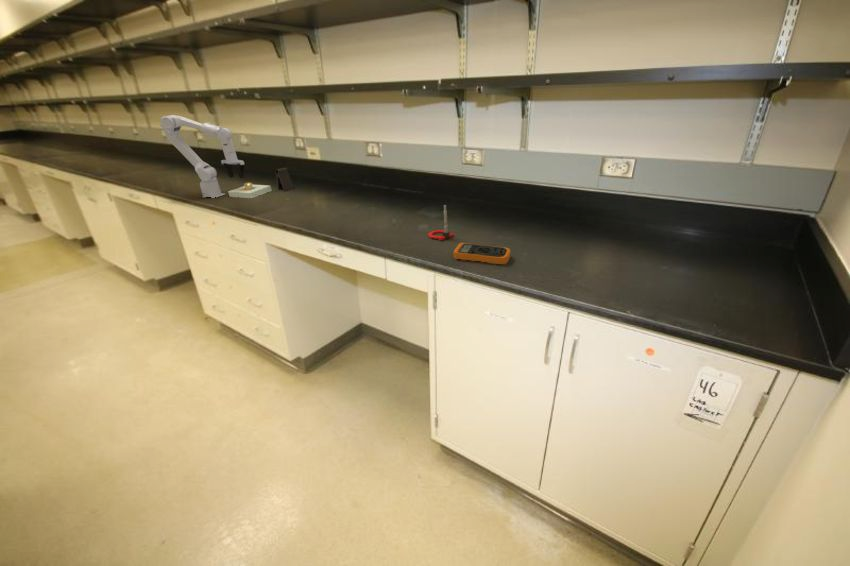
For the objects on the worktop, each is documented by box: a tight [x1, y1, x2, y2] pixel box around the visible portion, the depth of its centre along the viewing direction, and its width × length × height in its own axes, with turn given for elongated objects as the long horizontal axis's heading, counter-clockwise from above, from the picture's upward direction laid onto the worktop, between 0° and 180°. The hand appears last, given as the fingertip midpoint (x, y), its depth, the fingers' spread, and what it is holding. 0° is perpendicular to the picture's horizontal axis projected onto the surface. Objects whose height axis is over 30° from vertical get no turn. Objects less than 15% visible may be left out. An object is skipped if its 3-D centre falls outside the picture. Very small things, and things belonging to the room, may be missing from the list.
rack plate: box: [227, 183, 273, 200], centre depth 209 cm, size 16×16×3 cm
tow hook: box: [427, 204, 455, 242], centre depth 139 cm, size 8×13×9 cm
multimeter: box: [453, 242, 511, 265], centre depth 122 cm, size 9×18×3 cm, turn 69°
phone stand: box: [275, 166, 295, 192], centre depth 213 cm, size 9×6×12 cm, turn 50°
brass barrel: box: [243, 182, 253, 190], centre depth 208 cm, size 4×4×6 cm
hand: (236, 177), depth 205 cm, fingers open, 7 cm apart
